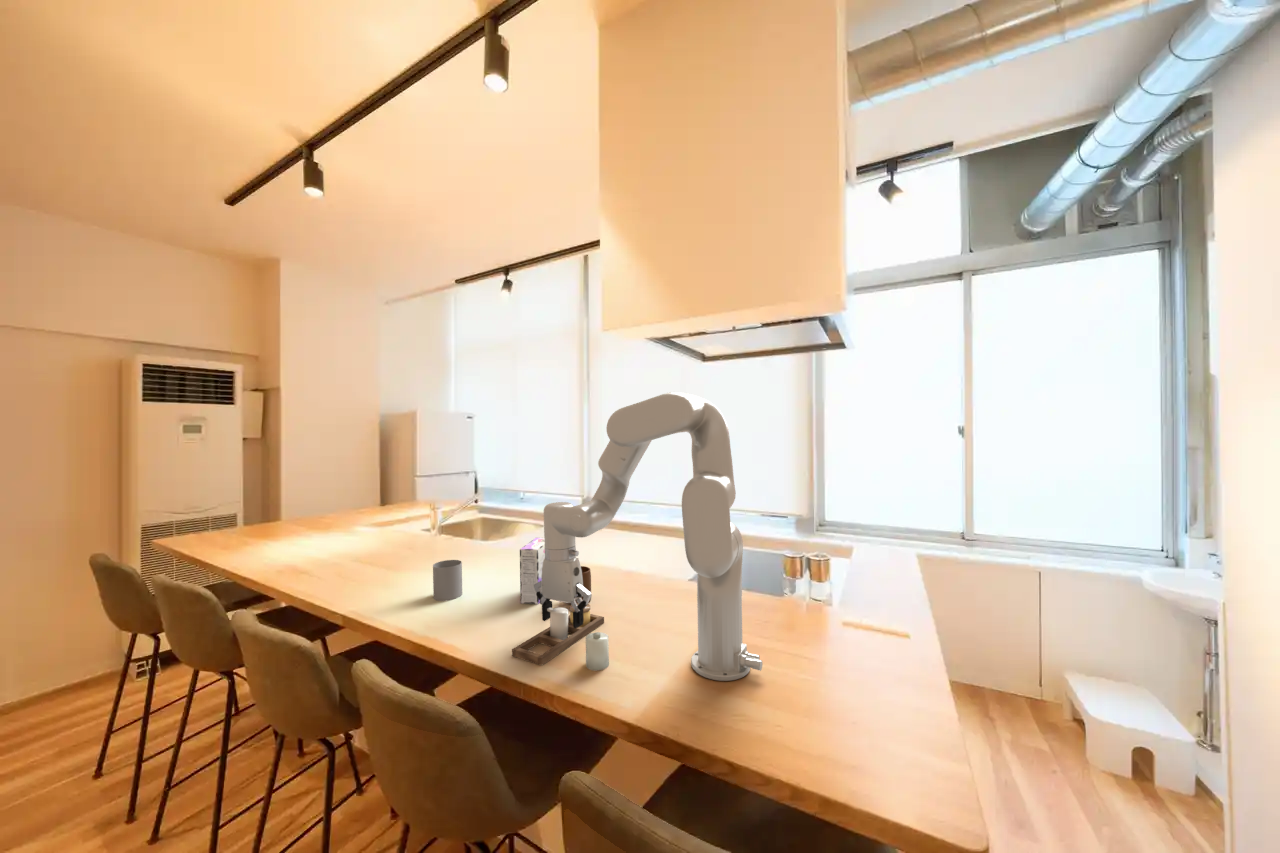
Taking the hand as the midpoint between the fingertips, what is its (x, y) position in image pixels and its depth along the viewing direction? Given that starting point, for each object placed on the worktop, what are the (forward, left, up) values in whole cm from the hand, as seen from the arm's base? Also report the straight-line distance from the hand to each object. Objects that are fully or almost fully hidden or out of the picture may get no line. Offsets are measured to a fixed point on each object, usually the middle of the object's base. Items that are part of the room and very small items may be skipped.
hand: (562, 622), depth 115 cm
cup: (+50, -6, -4) cm, 51 cm away
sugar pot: (-15, +6, -4) cm, 16 cm away
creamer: (+1, 0, -4) cm, 4 cm away
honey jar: (0, -8, -4) cm, 9 cm away
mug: (+11, -19, -4) cm, 23 cm away
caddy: (0, 0, -4) cm, 4 cm away
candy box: (+25, -19, -4) cm, 32 cm away
